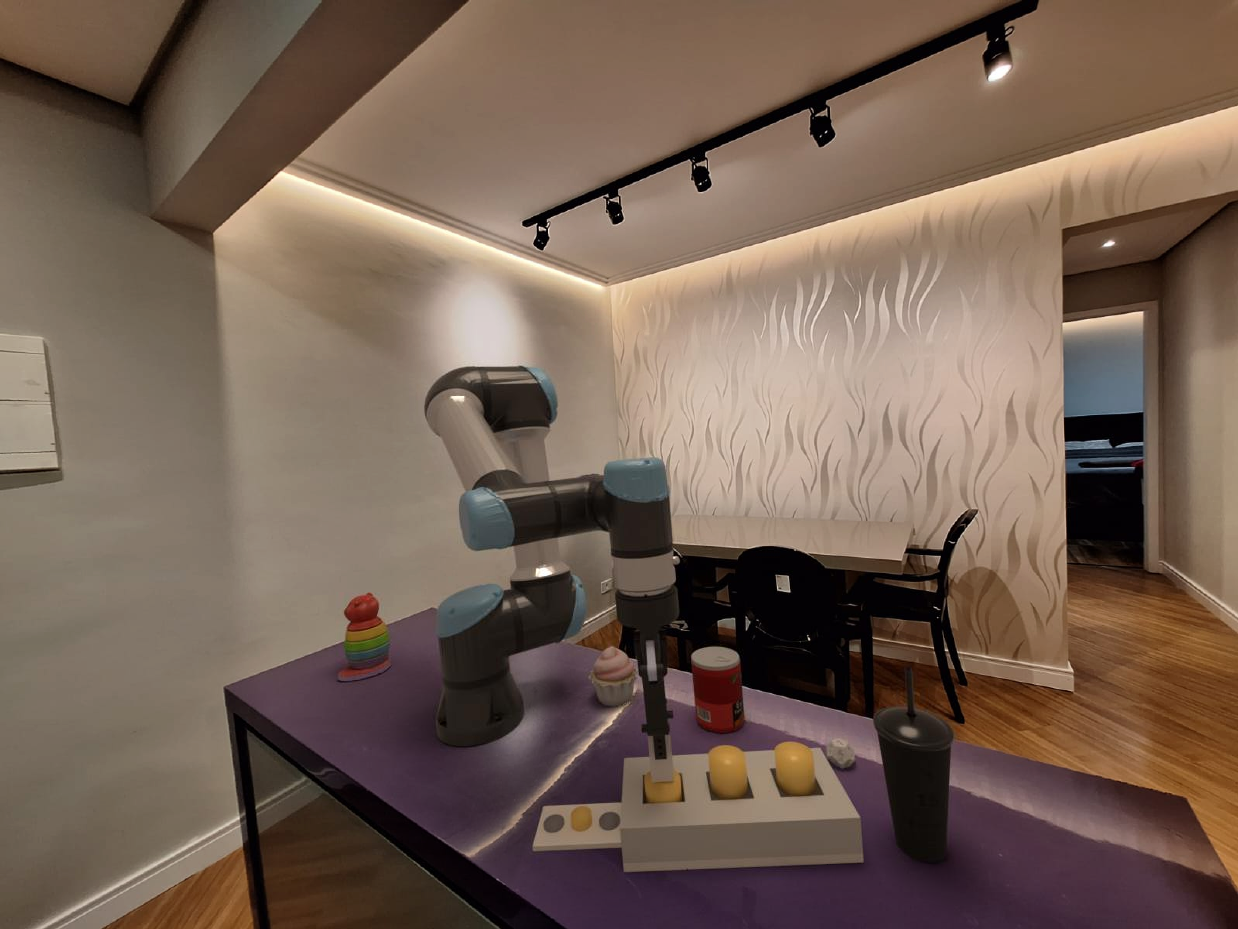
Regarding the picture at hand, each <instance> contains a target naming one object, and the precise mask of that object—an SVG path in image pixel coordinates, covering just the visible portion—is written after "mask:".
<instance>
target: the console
mask: <svg viewBox="0 0 1238 929" xmlns="http://www.w3.org/2000/svg"><path fill="white" fill-rule="evenodd" d="M808 748H809V749H810V750H811V751H812V752H813V757H814V771H815V784H816V791H815V793H814V794H813V795H812V796H798V797H790V796H788V795H786V794H784V793H783V792H782V791H781V790H780V789H779V788H778V786H777V776H776V763H775V749H770V750H753V751H742V752H743V753H744V754H745V759H746V771H747V784H748V793H747V795H746V797H745V798H743V799H736V800H720V799H718V798H717V797H716V796H715V795H714V794H713V793H712V791H711V783H710V771H709V759H708V754H709V753H695V754H678V755H676V754H675V755H674V754H673V755H672V761H673V769H674V770H676V771H677V772H678V773H679V775H680V780H681V792H682V802H673V803H652V804H646V793H645V782H644V778H645V775H646V774H647V773H648V772H649V771H650V770H651V767H650V756H640V757H639V756H637V757H624V758H623V777H622V788H621V789H622V791H621V802H622V804H621V820H620V834H621V845H622V847H621V855H622V864H623V865H622V866H623V867H622V868H623V873H633V872H658V871H660V872H661V871H682V870H683V871H685V870H687V869H688V870H705V869H706V870H709V869H733V868H734V869H735V868H754V867H755V868H757V867H762V868H763V867H783V866H784V867H787V866H805V865H808V866H809V865H827V864H828V865H830V864H831V865H832V864H854V863H855V864H858V863H861V864H862V863H864V862H865V861H864V849H863V837H862V836H863V835H862V819H861V816H860V814H859V813H858V811H857V810H856V807H855V806H854V804H853V802H852V800H851V798H850V796H848V793H847V792H846V790H845V788H844V787H843V785H842V783H841V781H840V780H839V778H838V776H837V775H836V773H835V771H834V770H833V768H832V766H831V764H830V761H828V758H827V756H826V755H825V754H824V752H823V751H822V749H821V747H808Z"/></svg>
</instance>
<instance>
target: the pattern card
mask: <svg viewBox="0 0 1238 929" xmlns="http://www.w3.org/2000/svg"><path fill="white" fill-rule="evenodd" d="M621 804H622V801H621V802H605V803H603V802H601V803H584V804H583V803H581V804H563V805H562V804H560V805H545V806H543V807H542V811H541V814H540V818H539V822H538V826H537V829H536V833H535V837H534V840H533V843H532V852H548V851H572V850H589V849H590V850H594V849H616V848H617V849H618V848H621V849H622V845H621V834H620V820H621Z"/></svg>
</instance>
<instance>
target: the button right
mask: <svg viewBox="0 0 1238 929" xmlns="http://www.w3.org/2000/svg"><path fill="white" fill-rule="evenodd" d="M809 748H810V747H808V746H807V745H805V744H803V743H800V742H797V741H785V742H781V743H779V744H777V745H776V746H775V748H774V750H775V763H776V776H777V786H778V788H779V789H780V790H781V791H782V792H783V793H784V794H786V795H788V796H790V797H798V796H812V795H813V794H814V793H815V791H816V784H815V771H814V757H813V752H812V751H811V750H810V749H809Z"/></svg>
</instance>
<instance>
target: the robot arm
mask: <svg viewBox="0 0 1238 929" xmlns="http://www.w3.org/2000/svg"><path fill="white" fill-rule="evenodd" d="M424 399H425V400H424V405H423V410H424V416H425V420H426V422H427V425H428V427H429V428H430V430H431V431H432V432H433V433H434V434H435V435H436V436H438V437H439V438H441V440H442V443H443V445H444V447H445V450H446V451H447V454H448V456H449V458H450V460H451V463H452V465H453V467H454V470H455V471H456V474H457V476H458V478H459V480H460V483H461V484H462V488H463V489H464V491H465V492H463V493H462V494H461V496H460V498H459V501H458V502H459V503H458V518H459V525H460V526H459V527H460V529H461V533H462V535H461V536H462V539H463V541H464V543H465V546H467V548H468V549H470V550H472V551H473V552H480V551H488V550H489V551H490V550H504V549H507V548H511V547H513V553H514V560H515V570H514V571H513V572H512V574H510V575H511V576H510V577H509V585H510V588H508V589H503V588H502V586H501V585H500V584H498V583H486V584H479V585H474V586H471V587H468V588H465V589H462V590H460V591H457V592H455V593H453V594H451V595H449V596H448V597H447V598H445V599H444V600H443V601H442V602H441V603H440V604H439V605H438V607H437V609H436V613H435V614H436V630H435V633H436V636H437V640H438V648H439V659H440V668H441V669H440V670H441V679H442V689H441V694H440V699H439V704H438V708H437V713H436V718H435V726H436V727H435V728H436V735H437V738H438V739H439V740H440V741H441V742H443V743H445V744H447V745H449V746H456V747H471V746H477V745H481V744H485V743H488V742H492V741H495V740H497V739H499V738H501V737H503V736H505V735H507V734H508V733H510V732H511V731H513V730H514V729H515V728H516V727H517V726H518V725H519V724H520V723H521V722H522V720H523V718H524V716H525V706H524V705H525V704H524V699H523V695H522V693H521V691H520V689H519V687H518V685H517V683H516V681H515V678H514V677H513V674H512V671H511V665H510V664H511V663H510V657H511V656H514V655H515V656H516V655H518V654H521V653H524V652H528V651H532V650H534V649H538V648H541V647H545V646H549V645H552V644H559V643H561V642H563V641H564V640H568V639H570V638H573V637H576V635H578V634H579V633H580V632H581V630H582V629H583V626H584V625H585V622H586V616H587V599H586V592H585V589H584V587H583V583H582V581H581V579H580V578H579V577H578V576H577V575H574V574H572V573H571V567H570V566H569V565H567V564H566V563H565V562H563V561H562V559H561V551H560V545H559V538H563V537H569V536H576V535H581V534H586V533H592V532H598V531H600V532H606V533H608V535H609V536H608V537H609V545H610V559H611V560H610V562H611V572H612V583H613V586H614V587H615V588H616V591H615V592H614V596H615V597H614V598H615V600H614V601H615V609H616V619H617V621H618V622H619V623H620V624H621V625H623V626H625V627H627V628H634V629H636V630H634V631H633V649H634V651H633V652H634V655H635V657H636V662H637V669H638V672H637V674H638V676H639V677H640V678H641V683H642V692H643V700H644V710H645V712H644V713H645V721H646V723H643V724H641V733H642V734H644V733H645V734H646V735H647V743H648V753H649V754H648V755H649V756H648V757H650V767H651V778H652V782H668V781H674V772H673V761H672V756H673V752H672V741H671V729H670V721H668V720H670V719H671V720H672V719H674V710H668V709H667V708H668V707H667V704H668V698H667V697H666V686H665V677H666V676H667V675H668V661H667V660H668V659H667V654H668V652H669V651H668V650H669V648H668V639H667V632H666V631H667V630H666V628H661V627H663V626H665V625H666V626H668V625H670V624H672V623H673V622H675V621H676V620H677V619H678V617H679V616H680V607H679V606H680V605H679V596H678V587H677V586H675V585H674V584H675V583H676V580H677V578H676V568H675V565H679V564H680V563H681V560H680V558H679V556H677V555H675V556H674V545H673V541H674V540H673V539H674V538H673V528H672V514H671V498H670V493H671V489H670V486H669V485H668V479H667V478H668V477H667V470H666V469H667V468H666V465H665V464H666V463H665V462H664V461H663V460H662V458H659V457H656V456H655V457H654V456H653V457H646V458H645V457H642V458H641V457H640V458H639V457H638V458H629V459H620V460H619V459H618V460H610V461H608V462H607V463H606V464H605V466H604V468H603V474H600V473H590V474H583V475H579V476H576V477H569V478H561V479H554V480H550V474H549V467H548V465H549V464H548V460H547V452H546V444H545V439H546V437H547V436H548V435H549V434H550V432H551V425H552V424H553V423H554V422H555V421H556V420H557V417H558V407H559V406H558V405H559V404H558V402H559V400H558V396H557V391H556V389H555V385H554V382H553V380H552V379H551V377H550V375H549V374H548V373H547V372H546V371H545V370H544V369H542V368H540V367H537V366H536V367H535V366H524V365H518V366H517V365H515V366H475V365H474V366H473V365H472V366H471V365H470V366H462V367H458V368H455V369H451V370H450V371H448V372H447V373H445V374H443V375H441V376H440V377H439V378H438V379H437V380H436V381H434V383H433V384H432V386H431V387H430V388H429V390H428V391H427V393H426V396H425V398H424ZM523 715H524V716H523Z"/></svg>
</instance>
